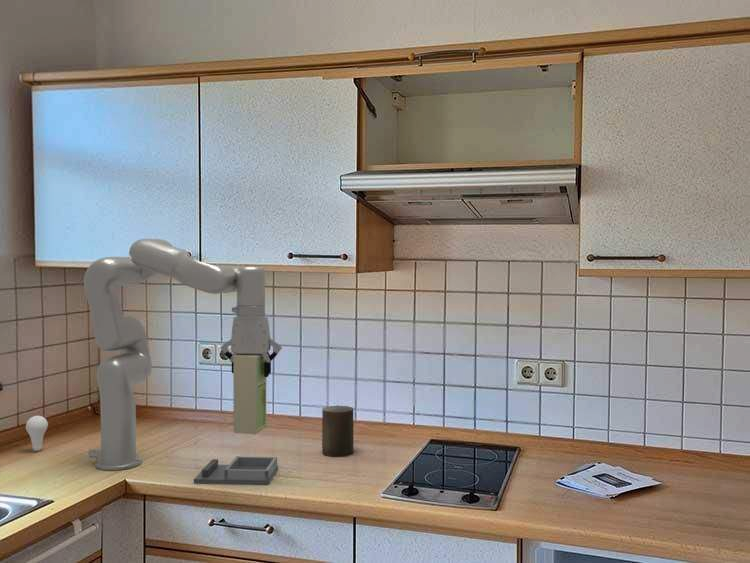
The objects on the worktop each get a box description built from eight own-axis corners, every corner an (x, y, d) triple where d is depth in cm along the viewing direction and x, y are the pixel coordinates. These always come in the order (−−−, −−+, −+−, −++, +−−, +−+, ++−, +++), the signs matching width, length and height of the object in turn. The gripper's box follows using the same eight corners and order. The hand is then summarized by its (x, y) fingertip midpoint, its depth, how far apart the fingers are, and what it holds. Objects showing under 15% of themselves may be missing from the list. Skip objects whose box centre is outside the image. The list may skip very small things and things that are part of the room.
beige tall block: (259, 434, 185) (258, 356, 184) (233, 433, 187) (232, 355, 186) (269, 427, 193) (268, 352, 192) (244, 426, 194) (243, 351, 194)
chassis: (193, 483, 184) (193, 469, 184) (208, 468, 198) (208, 455, 197) (268, 485, 183) (268, 471, 183) (278, 469, 196) (278, 456, 196)
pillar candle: (350, 457, 208) (350, 407, 208) (318, 456, 210) (318, 406, 209) (356, 449, 218) (356, 401, 218) (325, 447, 219) (325, 400, 219)
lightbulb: (49, 447, 219) (48, 413, 218) (46, 452, 213) (46, 417, 213) (27, 449, 217) (27, 414, 217) (24, 454, 211) (24, 418, 211)
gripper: (215, 312, 185) (216, 378, 186) (280, 313, 184) (280, 379, 185) (223, 310, 193) (223, 373, 193) (285, 311, 192) (285, 374, 192)
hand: (251, 375), depth 189 cm, fingers closed on beige tall block, 7 cm apart
